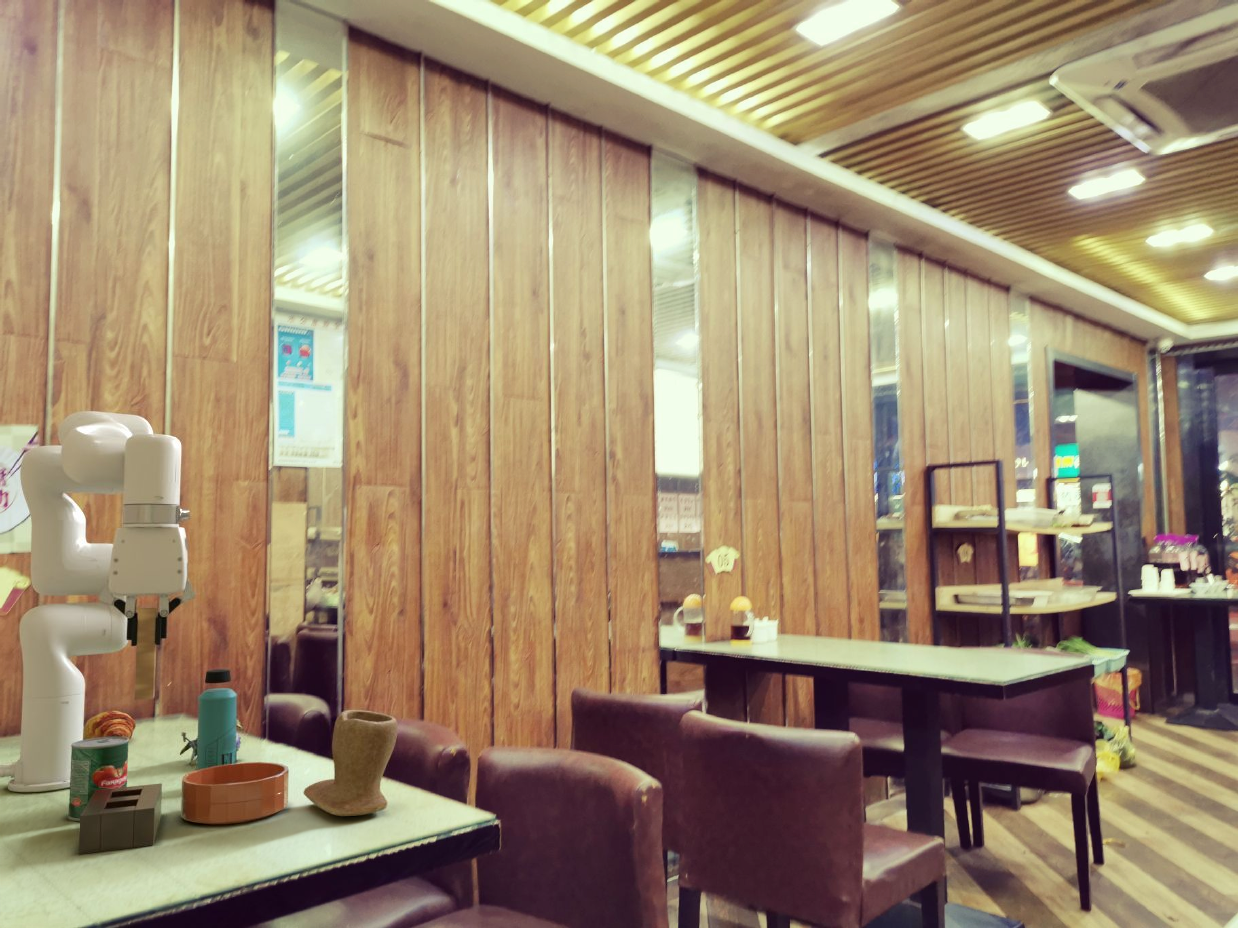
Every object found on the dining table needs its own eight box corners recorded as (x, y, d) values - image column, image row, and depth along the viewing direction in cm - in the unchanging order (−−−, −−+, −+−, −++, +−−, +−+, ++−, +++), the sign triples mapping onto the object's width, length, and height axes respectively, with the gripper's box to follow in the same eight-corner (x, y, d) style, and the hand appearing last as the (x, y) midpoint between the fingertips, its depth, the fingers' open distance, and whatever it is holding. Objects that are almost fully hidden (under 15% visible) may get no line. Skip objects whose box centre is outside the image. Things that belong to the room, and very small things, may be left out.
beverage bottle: (221, 792, 155) (224, 671, 157) (186, 791, 157) (189, 671, 159) (244, 783, 162) (246, 667, 164) (210, 782, 163) (213, 667, 165)
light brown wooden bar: (134, 699, 132) (137, 608, 133) (136, 697, 134) (139, 607, 135) (153, 698, 133) (156, 607, 134) (154, 696, 135) (157, 606, 136)
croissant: (82, 751, 208) (64, 721, 206) (127, 725, 214) (110, 695, 212) (105, 764, 192) (86, 732, 190) (152, 735, 198) (134, 703, 196)
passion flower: (232, 789, 179) (247, 743, 175) (171, 785, 174) (185, 738, 170) (234, 747, 189) (249, 702, 184) (177, 742, 184) (190, 696, 180)
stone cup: (407, 813, 141) (408, 712, 142) (329, 826, 134) (331, 721, 136) (374, 793, 154) (375, 701, 155) (301, 804, 147) (303, 708, 148)
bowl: (178, 832, 133) (179, 789, 134) (183, 806, 147) (184, 767, 147) (290, 819, 139) (291, 778, 139) (284, 795, 153) (285, 758, 153)
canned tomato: (115, 819, 140) (118, 745, 141) (59, 822, 139) (62, 747, 140) (133, 805, 148) (136, 735, 149) (80, 808, 147) (83, 737, 148)
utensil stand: (78, 854, 124) (79, 815, 124) (93, 824, 138) (95, 789, 138) (153, 845, 127) (154, 807, 128) (160, 816, 141) (162, 783, 142)
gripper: (211, 519, 143) (207, 640, 141) (92, 519, 137) (87, 645, 135) (210, 517, 136) (206, 644, 134) (84, 517, 130) (79, 650, 128)
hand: (146, 643), depth 134 cm, fingers closed on light brown wooden bar, 2 cm apart
